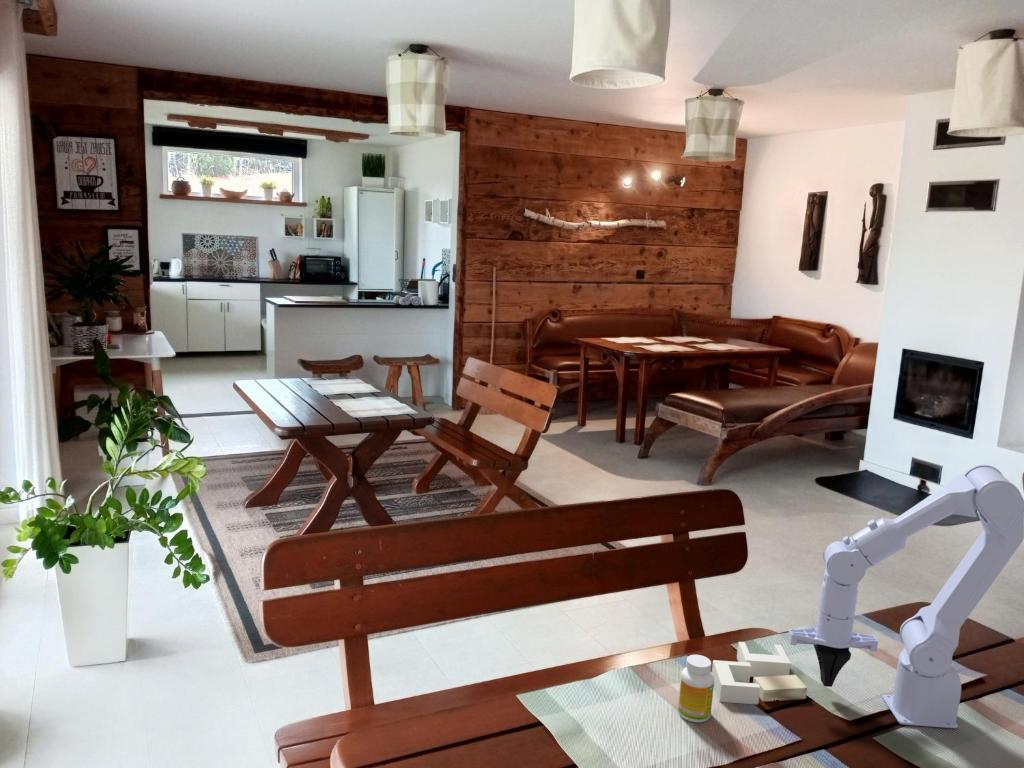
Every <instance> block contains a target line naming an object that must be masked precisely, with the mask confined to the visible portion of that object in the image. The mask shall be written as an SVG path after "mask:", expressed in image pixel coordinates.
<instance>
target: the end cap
mask: <svg viewBox="0 0 1024 768" xmlns="http://www.w3.org/2000/svg"><path fill="white" fill-rule="evenodd" d="M750 672H751V665H750V663H746V662H738V661H731V660H730V661H729V660H716V659H713V660H712V664H711V673H712V674H713V676H714V689H715V691H716V694H717V698H718V701H719V702H720V703H731V704H732V703H733V704H734V703H735V704H747V705H759V700H760V697H759V693H760V686H759V684H757V683H753V682H750V681H751V680H750V679H751V677H750Z"/></svg>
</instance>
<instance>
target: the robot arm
mask: <svg viewBox="0 0 1024 768" xmlns="http://www.w3.org/2000/svg"><path fill="white" fill-rule="evenodd" d="M977 514H978V516H977ZM952 515H957V516H964V517H970V518H977V517H978V518H979V520H980V523H981V525H982V528H983V529H982V531H981V532H980V534H979V536H978V537H976V540H975V541H974V543H973V544H972V545H971V547H970V548H969V550H968V551H967V552H966V553H965V555H964V557H962V560H961V561H960V563H958V565H957V567H955V569H954V571H953V572H952V574H951V575H950V577H949V578H948V580H946V582H945V584H944V585H943V587H942V588H941V590H940V591H939V592H938V593H937V595H936V596H935V598H934V599H933V601H932V603H930V605H927V606H924V607H921V608H919V610H918V612H917V613H916V614H915V615H913V616H912V617H910V618H907V619H906V620H905V621H903V623H901V625H900V629H899V636H900V639H901V642H902V644H903V646H904V647H903V649H902V650H901V652H900V653H899V655H898V661H897V667H896V673H895V678H894V679H895V680H894V686H893V692H892V695H891V694H883V695H882V699H883V700H884V702H885V704H886V705H887V707H888V708H889V710H890V711H891V712H892V714H893V716H894V717H895V719H896V720H897V722H898V723H899V724H900V725H903V726H904V725H905V726H908V725H909V726H918V727H919V726H920V727H934V728H946V729H958V728H959V724H958V723H957V718H958V713H959V707H960V703H961V702H960V701H961V695H962V682H961V677H960V674H959V672H958V670H957V669H956V668H955V667H954V666H952V663H953V654H954V652H955V651H956V649H957V648H958V646H959V640H960V632H961V627H962V626H963V624H965V622H966V620H967V619H968V617H969V616H970V615H971V614H972V612H973V611H974V609H975V608H976V607H977V605H978V604H979V602H980V601H981V600H982V598H983V597H984V596H985V594H986V593H987V592H988V590H989V589H990V587H991V586H992V585H993V583H994V582H995V581H996V579H997V578H998V576H999V575H1000V573H1001V572H1002V571H1003V569H1004V568H1005V567H1006V565H1007V564H1008V562H1010V560H1011V558H1012V556H1013V555H1014V554H1015V553H1016V552H1017V550H1018V549H1019V547H1020V546H1021V545H1022V543H1023V541H1024V497H1023V495H1022V493H1021V491H1020V490H1019V488H1018V486H1016V485H1015V484H1013V483H1012V482H1010V480H1008V479H1007V478H1006V477H1005V476H1004V475H1003V473H1002V472H1001V471H1000V470H999V469H998V468H996V467H994V466H992V465H989V464H978V465H975V466H972V467H970V468H969V469H967V470H966V471H965V473H960V474H957V475H955V476H954V477H952V478H951V480H949V481H948V482H947V483H946V484H945V485H943V486H942V487H940V488H939V489H938V490H936V491H934V492H933V493H932V494H930V495H928V496H926V498H924V499H922V500H921V501H919V502H917V504H915V505H914V506H912V507H911V508H909V509H908V510H905V512H903V513H902V514H900V515H899V516H897V517H896V518H892V519H891V518H885V517H881V518H879V519H878V520H875V519H874V518H873V519H871V520H869V521H867V522H866V524H867V526H866V527H863V529H861V530H859V531H857V532H856V533H854V534H852V535H850V536H848V535H846V536H844V537H843V538H842V540H841V541H839V540H837V541H834V542H832V543H830V544H829V545H828V546H827V547H826V548H825V549H826V550H824V551H823V552H822V558H823V562H824V563H825V565H826V567H825V569H824V573H823V581H822V584H821V587H820V588H821V589H820V597H819V604H818V611H817V612H818V613H817V620H816V626H815V627H807V628H797V629H794V628H793V629H791V628H790V629H788V636H787V640H788V642H789V644H790V645H791V646H797V645H798V644H800V645H801V644H802V645H813V648H814V651H815V653H816V657H817V661H818V664H819V673H820V682H821V683H822V685H823V687H827V688H828V687H830V688H831V687H833V685H834V682H835V680H836V678H837V677H838V675H839V673H840V671H841V670H842V668H843V667H844V666H845V665H846V664H847V662H849V661H850V659H852V658H851V657H852V653H851V651H850V648H853V649H855V648H856V649H865V650H866V649H867V650H869V651H870V652H877V651H878V644H879V640H878V639H877V638H876V636H875V635H873V634H872V635H871V634H865V633H859V632H855V631H853V629H854V622H855V621H854V620H855V614H856V606H857V600H858V594H859V590H858V586H859V583H860V582H861V581H862V580H863V578H865V577H864V576H865V575H866V571H867V570H868V569H870V568H872V567H873V566H876V565H878V564H879V563H881V562H882V561H884V560H886V559H887V558H889V557H891V556H893V555H894V554H896V553H898V552H899V551H900V552H901V550H904V548H905V546H906V541H907V538H908V537H910V536H913V535H914V534H917V533H919V532H921V531H922V530H924V529H926V528H928V527H930V526H932V525H934V524H936V523H938V522H940V521H942V520H943V519H947V518H948V517H950V516H952Z"/></svg>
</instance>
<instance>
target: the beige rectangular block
mask: <svg viewBox="0 0 1024 768" xmlns="http://www.w3.org/2000/svg"><path fill="white" fill-rule="evenodd" d="M752 678H753V679H752V683H757V684H759V686H760V693H759V700H761V702H776V700H779V701H792V700H805V699H807V692H808V687H807V685H805V684H804V683H803V681H802V680H801V679H800V678H799V677H798V676H797V674H789V675H783V676H765V677H752ZM774 700H775V701H774Z"/></svg>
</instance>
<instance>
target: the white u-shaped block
mask: <svg viewBox="0 0 1024 768" xmlns="http://www.w3.org/2000/svg"><path fill="white" fill-rule="evenodd" d="M772 652H773V654H765V653H764V654H762V653H750V651H749V648H748V646H747V643H746V642H745V641H738V643H737V650H736V660H737V662H746V663H750V665H751V672H750V678H751V677H752V678H754V677H765V676H783V675H790V670H791V662H790V659H789V658H788V656H787V654H786V652H785V650H784V648H783V645H781V644H775V643H774V646H773V651H772Z"/></svg>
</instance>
